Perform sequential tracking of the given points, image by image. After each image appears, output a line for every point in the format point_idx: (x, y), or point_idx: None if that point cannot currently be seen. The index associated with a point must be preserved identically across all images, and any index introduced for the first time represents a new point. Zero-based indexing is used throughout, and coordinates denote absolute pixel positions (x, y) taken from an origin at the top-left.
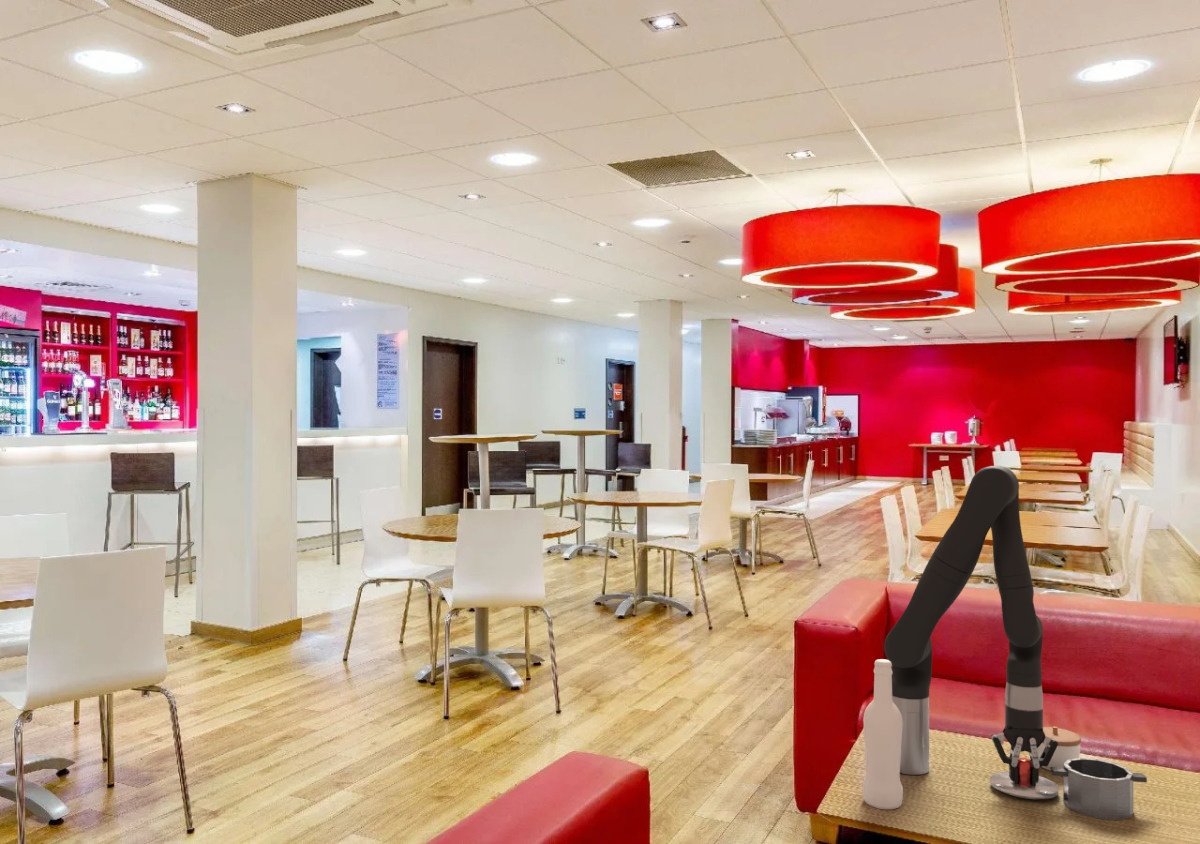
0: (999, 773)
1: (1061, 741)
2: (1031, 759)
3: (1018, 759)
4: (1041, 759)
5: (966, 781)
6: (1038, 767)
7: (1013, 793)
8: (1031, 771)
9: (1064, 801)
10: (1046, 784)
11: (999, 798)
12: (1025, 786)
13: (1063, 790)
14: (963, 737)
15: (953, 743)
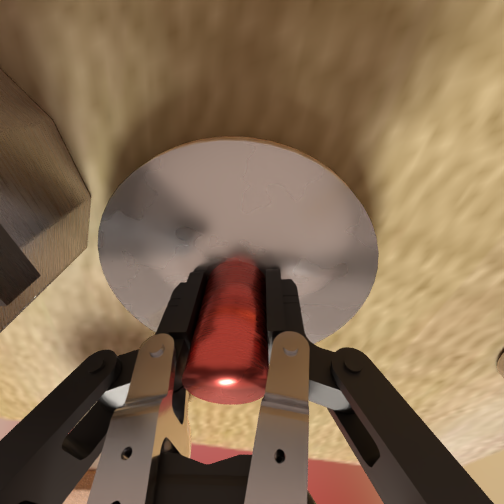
0: (309, 339)
1: (79, 490)
2: (181, 395)
3: (256, 387)
4: (118, 396)
5: (425, 297)
6: (149, 340)
7: (314, 160)
8: (195, 324)
9: (80, 186)
10: (150, 288)
11: (371, 158)
12: (236, 252)
13: (56, 219)
14: (308, 454)
15: (338, 441)
